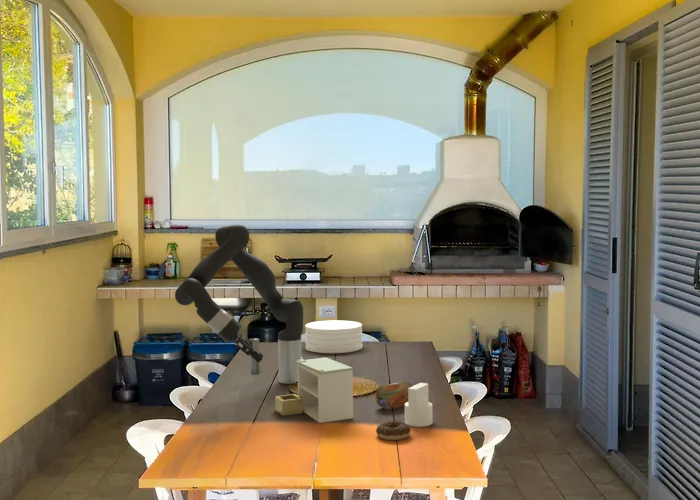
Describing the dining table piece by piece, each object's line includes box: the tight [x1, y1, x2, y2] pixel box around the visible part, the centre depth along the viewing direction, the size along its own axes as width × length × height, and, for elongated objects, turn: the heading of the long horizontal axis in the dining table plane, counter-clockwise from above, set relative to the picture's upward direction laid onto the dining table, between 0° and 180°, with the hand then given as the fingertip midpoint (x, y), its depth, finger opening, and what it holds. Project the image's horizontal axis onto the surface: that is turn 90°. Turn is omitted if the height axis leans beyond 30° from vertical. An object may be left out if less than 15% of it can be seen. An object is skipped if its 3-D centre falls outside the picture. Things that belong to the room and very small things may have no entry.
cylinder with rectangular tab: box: [404, 382, 434, 428], centre depth 245 cm, size 9×9×12 cm
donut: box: [375, 420, 411, 441], centre depth 232 cm, size 11×11×4 cm
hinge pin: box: [249, 337, 261, 376], centre depth 258 cm, size 3×3×12 cm
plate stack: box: [304, 319, 363, 354], centre depth 373 cm, size 28×28×12 cm
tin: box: [375, 381, 413, 410], centre depth 264 cm, size 15×3×8 cm, turn 118°
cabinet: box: [296, 356, 354, 424], centre depth 257 cm, size 13×20×17 cm, turn 25°
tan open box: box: [274, 393, 303, 416], centre depth 260 cm, size 8×7×5 cm
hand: (260, 359), depth 258 cm, fingers closed on hinge pin, 3 cm apart
